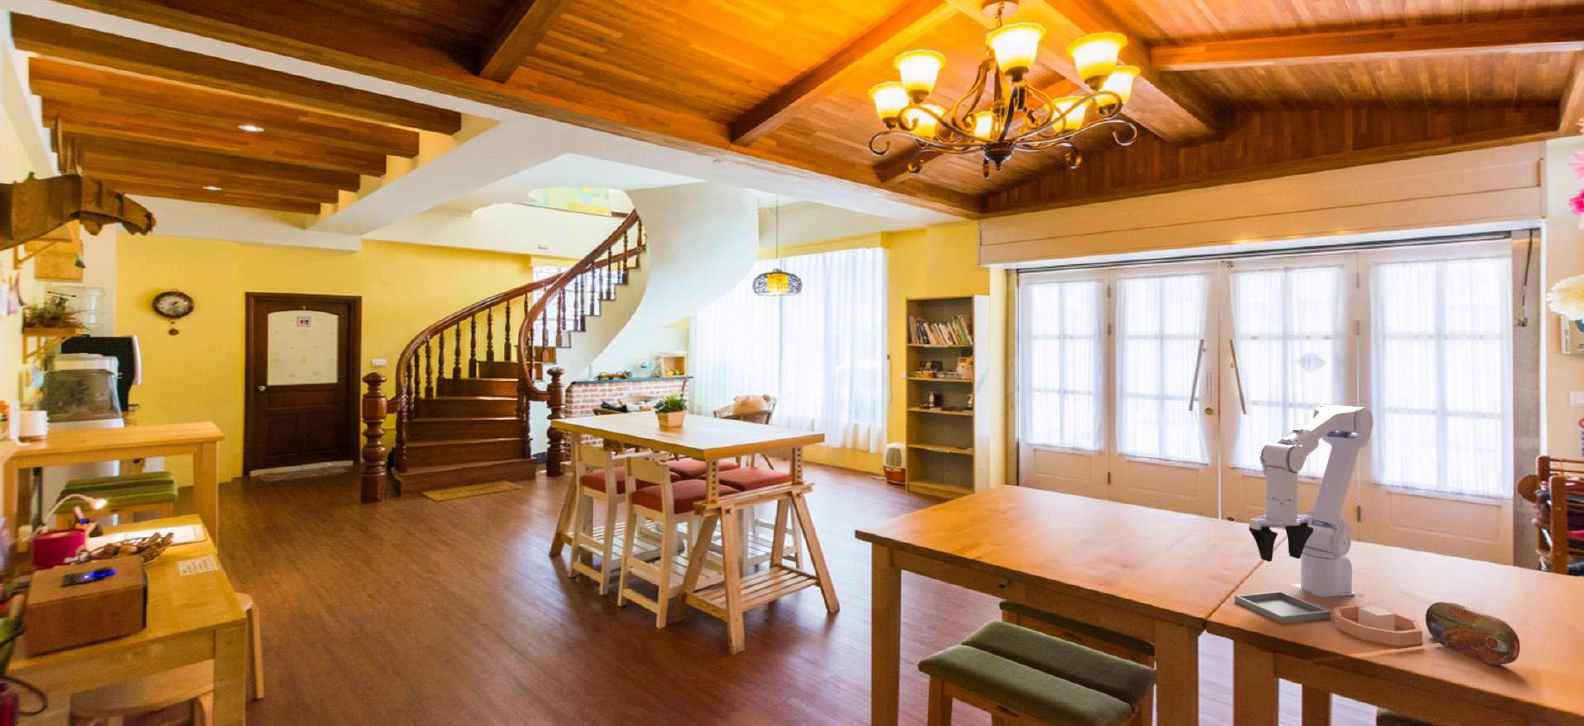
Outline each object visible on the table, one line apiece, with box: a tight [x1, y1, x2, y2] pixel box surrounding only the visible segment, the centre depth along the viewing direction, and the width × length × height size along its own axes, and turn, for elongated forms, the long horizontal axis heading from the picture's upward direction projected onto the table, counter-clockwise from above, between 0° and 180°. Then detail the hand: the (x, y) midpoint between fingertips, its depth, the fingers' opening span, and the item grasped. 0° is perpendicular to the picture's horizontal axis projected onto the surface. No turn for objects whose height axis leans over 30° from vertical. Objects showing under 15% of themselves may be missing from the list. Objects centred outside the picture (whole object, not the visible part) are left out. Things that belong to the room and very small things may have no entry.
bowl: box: [1333, 604, 1423, 650], centre depth 140 cm, size 13×13×3 cm
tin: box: [1425, 601, 1521, 666], centre depth 131 cm, size 15×3×8 cm, turn 5°
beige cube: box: [1358, 605, 1395, 631], centre depth 140 cm, size 4×4×4 cm
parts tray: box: [1234, 590, 1332, 625], centre depth 151 cm, size 12×12×2 cm
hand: (1280, 558), depth 155 cm, fingers open, 7 cm apart
